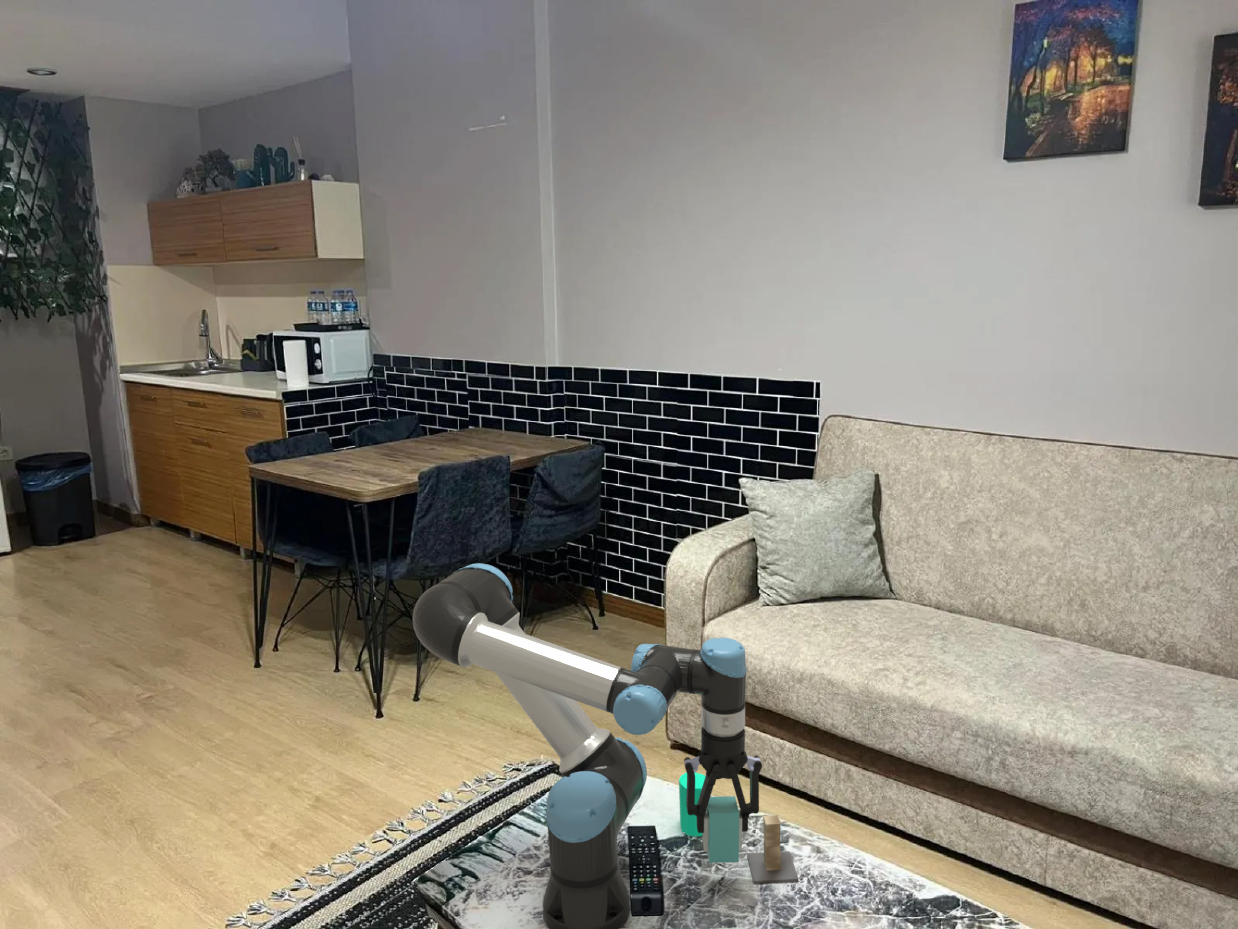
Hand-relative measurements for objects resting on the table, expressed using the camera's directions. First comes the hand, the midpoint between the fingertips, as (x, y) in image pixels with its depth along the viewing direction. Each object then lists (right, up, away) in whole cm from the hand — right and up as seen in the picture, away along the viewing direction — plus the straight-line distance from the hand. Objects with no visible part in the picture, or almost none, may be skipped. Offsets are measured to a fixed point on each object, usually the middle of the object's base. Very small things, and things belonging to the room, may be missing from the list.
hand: (722, 846), depth 163 cm
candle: (-3, -4, +19) cm, 20 cm away
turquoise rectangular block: (0, -1, 0) cm, 1 cm away
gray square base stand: (+10, -6, +5) cm, 13 cm away
